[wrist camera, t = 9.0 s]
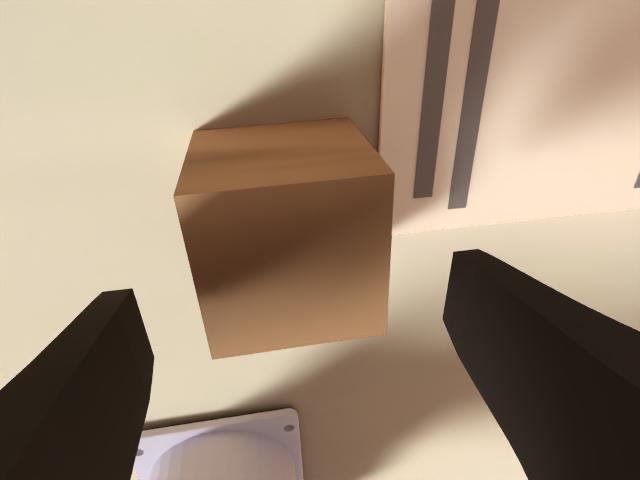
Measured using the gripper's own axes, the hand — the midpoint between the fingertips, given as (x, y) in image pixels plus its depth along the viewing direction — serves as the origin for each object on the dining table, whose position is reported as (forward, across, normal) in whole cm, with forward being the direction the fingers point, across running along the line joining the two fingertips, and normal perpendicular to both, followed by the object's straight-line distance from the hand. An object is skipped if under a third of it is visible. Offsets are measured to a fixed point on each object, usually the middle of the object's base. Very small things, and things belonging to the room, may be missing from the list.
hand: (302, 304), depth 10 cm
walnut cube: (+6, 0, 0) cm, 6 cm away
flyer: (+6, -10, -3) cm, 12 cm away
